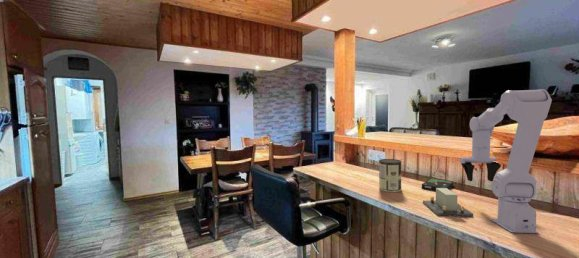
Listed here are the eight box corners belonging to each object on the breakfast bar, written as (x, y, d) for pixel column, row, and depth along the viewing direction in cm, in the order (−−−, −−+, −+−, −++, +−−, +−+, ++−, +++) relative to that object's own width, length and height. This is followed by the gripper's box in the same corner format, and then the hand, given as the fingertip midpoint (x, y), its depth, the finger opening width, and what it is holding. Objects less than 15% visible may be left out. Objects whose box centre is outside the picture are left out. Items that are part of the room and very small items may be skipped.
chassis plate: (473, 216, 90) (473, 208, 90) (437, 215, 92) (437, 207, 91) (453, 203, 103) (453, 196, 103) (422, 202, 104) (422, 195, 104)
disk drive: (445, 194, 116) (453, 186, 127) (445, 188, 116) (453, 181, 126) (421, 189, 124) (430, 182, 134) (421, 184, 123) (430, 177, 134)
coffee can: (390, 184, 130) (390, 157, 129) (406, 190, 121) (406, 161, 120) (374, 187, 127) (374, 159, 126) (389, 193, 117) (389, 163, 116)
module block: (446, 202, 101) (446, 188, 101) (457, 210, 93) (457, 194, 93) (435, 202, 102) (435, 188, 101) (445, 210, 94) (445, 194, 93)
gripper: (493, 145, 104) (492, 178, 105) (456, 146, 106) (455, 177, 107) (506, 148, 97) (505, 182, 98) (466, 148, 99) (465, 182, 100)
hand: (479, 180), depth 102 cm, fingers open, 7 cm apart
